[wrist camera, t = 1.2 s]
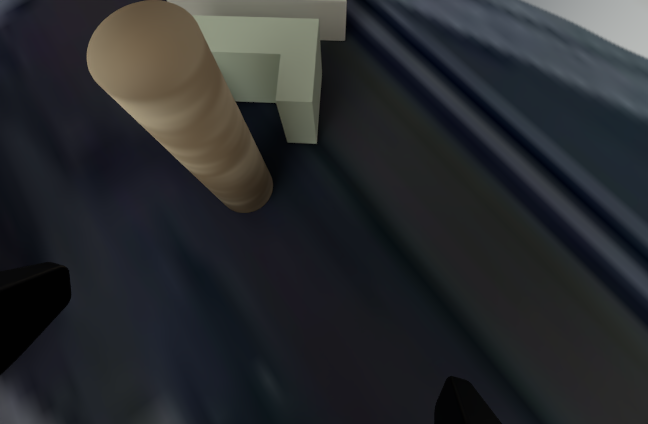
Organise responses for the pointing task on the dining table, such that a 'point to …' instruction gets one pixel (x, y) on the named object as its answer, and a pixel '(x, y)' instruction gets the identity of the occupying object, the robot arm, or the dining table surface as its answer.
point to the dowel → (180, 98)
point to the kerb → (277, 11)
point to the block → (271, 66)
